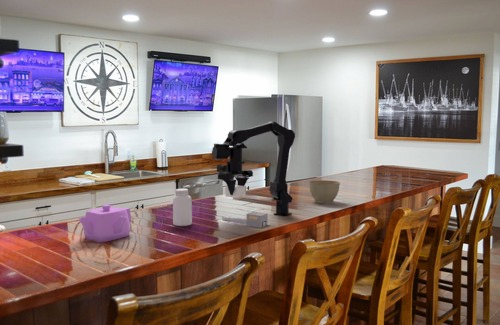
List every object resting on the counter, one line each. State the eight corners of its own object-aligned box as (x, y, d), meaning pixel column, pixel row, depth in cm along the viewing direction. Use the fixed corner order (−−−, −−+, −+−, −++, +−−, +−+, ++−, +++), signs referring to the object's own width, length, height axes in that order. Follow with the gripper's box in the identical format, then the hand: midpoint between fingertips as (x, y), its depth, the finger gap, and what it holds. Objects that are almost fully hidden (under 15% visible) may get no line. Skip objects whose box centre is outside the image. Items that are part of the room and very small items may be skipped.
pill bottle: (174, 226, 202) (173, 191, 201) (172, 222, 210) (171, 188, 208) (193, 225, 204) (192, 190, 203) (190, 221, 212) (189, 187, 210)
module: (232, 194, 219) (232, 184, 219) (245, 196, 215) (245, 186, 215) (225, 196, 214) (225, 186, 214) (238, 198, 210) (238, 187, 210)
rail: (227, 218, 217) (227, 214, 217) (270, 224, 205) (270, 220, 205) (217, 222, 211) (217, 218, 211) (260, 228, 199) (260, 224, 198)
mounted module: (253, 222, 208) (253, 211, 208) (267, 224, 204) (267, 213, 204) (246, 224, 204) (246, 213, 203) (260, 226, 200) (260, 215, 199)
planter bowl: (345, 203, 252) (345, 183, 251) (318, 206, 246) (318, 184, 245) (329, 198, 267) (329, 179, 266) (303, 201, 261) (303, 180, 260)
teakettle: (132, 231, 196) (131, 200, 195) (126, 241, 179) (125, 208, 178) (88, 232, 194) (87, 201, 193) (79, 243, 177) (77, 210, 176)
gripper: (233, 156, 225) (233, 189, 227) (207, 159, 210) (207, 194, 212) (253, 157, 219) (253, 192, 220) (228, 160, 204) (228, 197, 205)
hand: (235, 194), depth 215 cm, fingers closed on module, 5 cm apart
